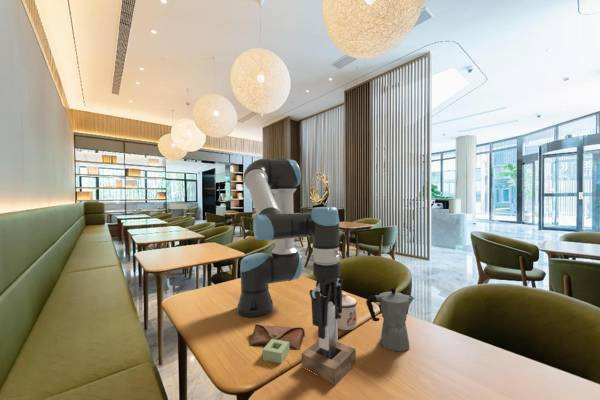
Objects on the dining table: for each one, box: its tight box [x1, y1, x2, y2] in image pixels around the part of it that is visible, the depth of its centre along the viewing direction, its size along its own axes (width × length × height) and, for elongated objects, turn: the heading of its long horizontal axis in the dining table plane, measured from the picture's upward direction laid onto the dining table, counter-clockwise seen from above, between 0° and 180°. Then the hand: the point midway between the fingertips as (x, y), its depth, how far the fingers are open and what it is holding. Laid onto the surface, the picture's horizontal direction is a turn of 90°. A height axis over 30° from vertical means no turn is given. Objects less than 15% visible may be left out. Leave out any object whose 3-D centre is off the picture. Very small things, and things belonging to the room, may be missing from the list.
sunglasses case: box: [248, 324, 306, 350], centre depth 85 cm, size 18×7×7 cm
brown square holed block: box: [301, 339, 357, 386], centre depth 72 cm, size 11×11×4 cm
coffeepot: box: [365, 287, 415, 353], centre depth 81 cm, size 15×9×18 cm, turn 90°
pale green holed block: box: [262, 339, 290, 364], centre depth 77 cm, size 6×6×3 cm
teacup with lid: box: [337, 292, 358, 331], centre depth 95 cm, size 12×9×12 cm
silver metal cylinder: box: [322, 300, 336, 360], centre depth 71 cm, size 4×4×16 cm
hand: (328, 344), depth 72 cm, fingers closed on silver metal cylinder, 4 cm apart
